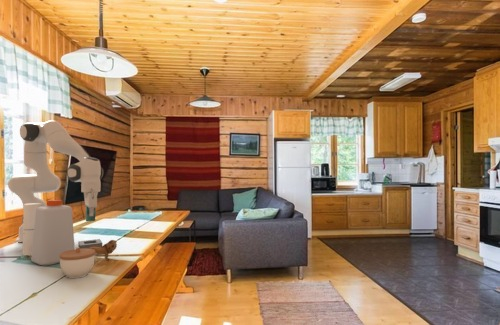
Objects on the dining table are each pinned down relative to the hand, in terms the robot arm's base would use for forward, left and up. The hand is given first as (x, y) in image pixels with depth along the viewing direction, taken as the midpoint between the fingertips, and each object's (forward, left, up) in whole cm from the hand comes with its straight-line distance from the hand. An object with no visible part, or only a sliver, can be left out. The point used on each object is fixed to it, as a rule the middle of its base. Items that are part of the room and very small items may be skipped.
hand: (90, 215), depth 156 cm
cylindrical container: (-12, -25, -19) cm, 34 cm away
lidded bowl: (+35, -8, -19) cm, 40 cm away
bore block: (0, 0, -19) cm, 19 cm away
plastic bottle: (+6, -16, -19) cm, 26 cm away
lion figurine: (+18, +3, -19) cm, 26 cm away
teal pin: (0, 0, -3) cm, 3 cm away
